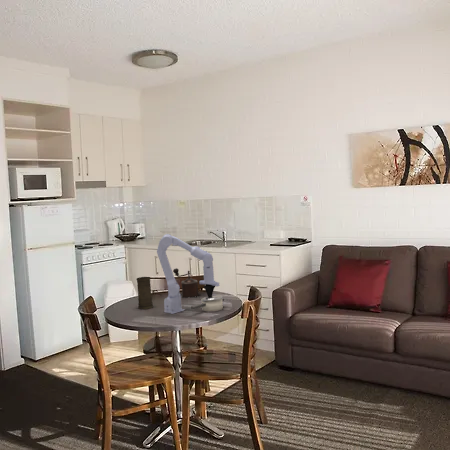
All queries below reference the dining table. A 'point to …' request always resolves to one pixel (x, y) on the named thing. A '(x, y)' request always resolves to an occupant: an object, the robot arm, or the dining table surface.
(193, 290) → the manual coffee grinder
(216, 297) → the lid
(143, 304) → the container
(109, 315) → the dining table surface
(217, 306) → the pot
